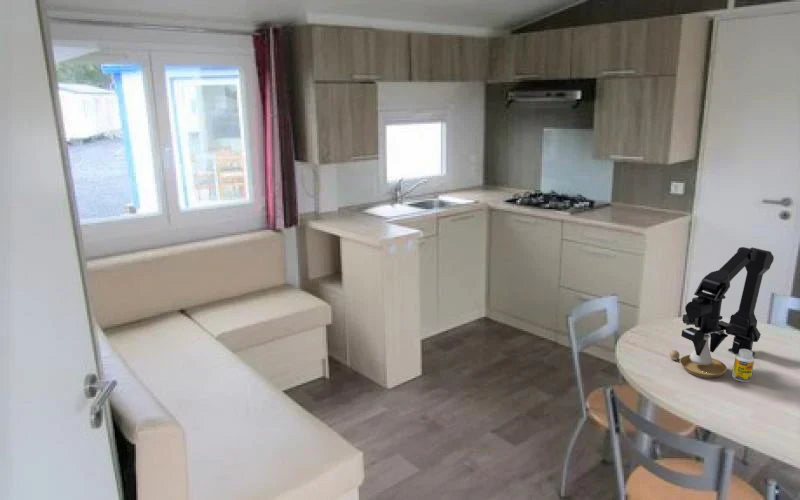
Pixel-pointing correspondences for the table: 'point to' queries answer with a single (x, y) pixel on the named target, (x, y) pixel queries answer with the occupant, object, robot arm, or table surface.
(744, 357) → the supplement bottle
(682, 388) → the table surface
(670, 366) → the table surface
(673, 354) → the beige ball
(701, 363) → the flask
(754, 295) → the robot arm
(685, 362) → the plant saucer
